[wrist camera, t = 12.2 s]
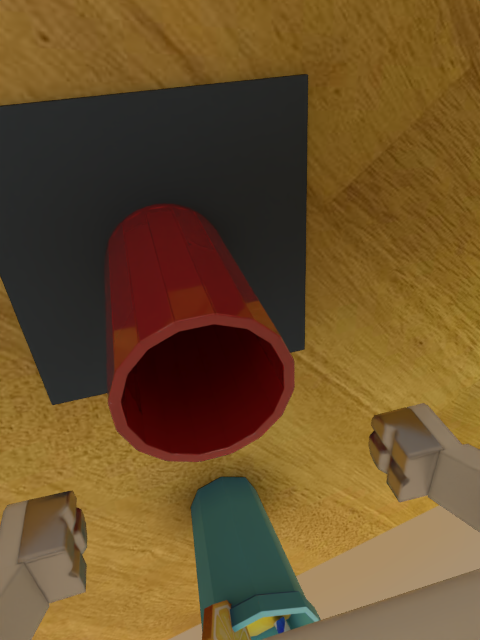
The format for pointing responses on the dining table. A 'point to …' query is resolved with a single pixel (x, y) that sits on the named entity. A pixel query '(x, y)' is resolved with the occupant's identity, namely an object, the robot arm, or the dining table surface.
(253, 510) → the cup
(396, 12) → the dining table surface
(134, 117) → the corner mat
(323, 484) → the dining table surface
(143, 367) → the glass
